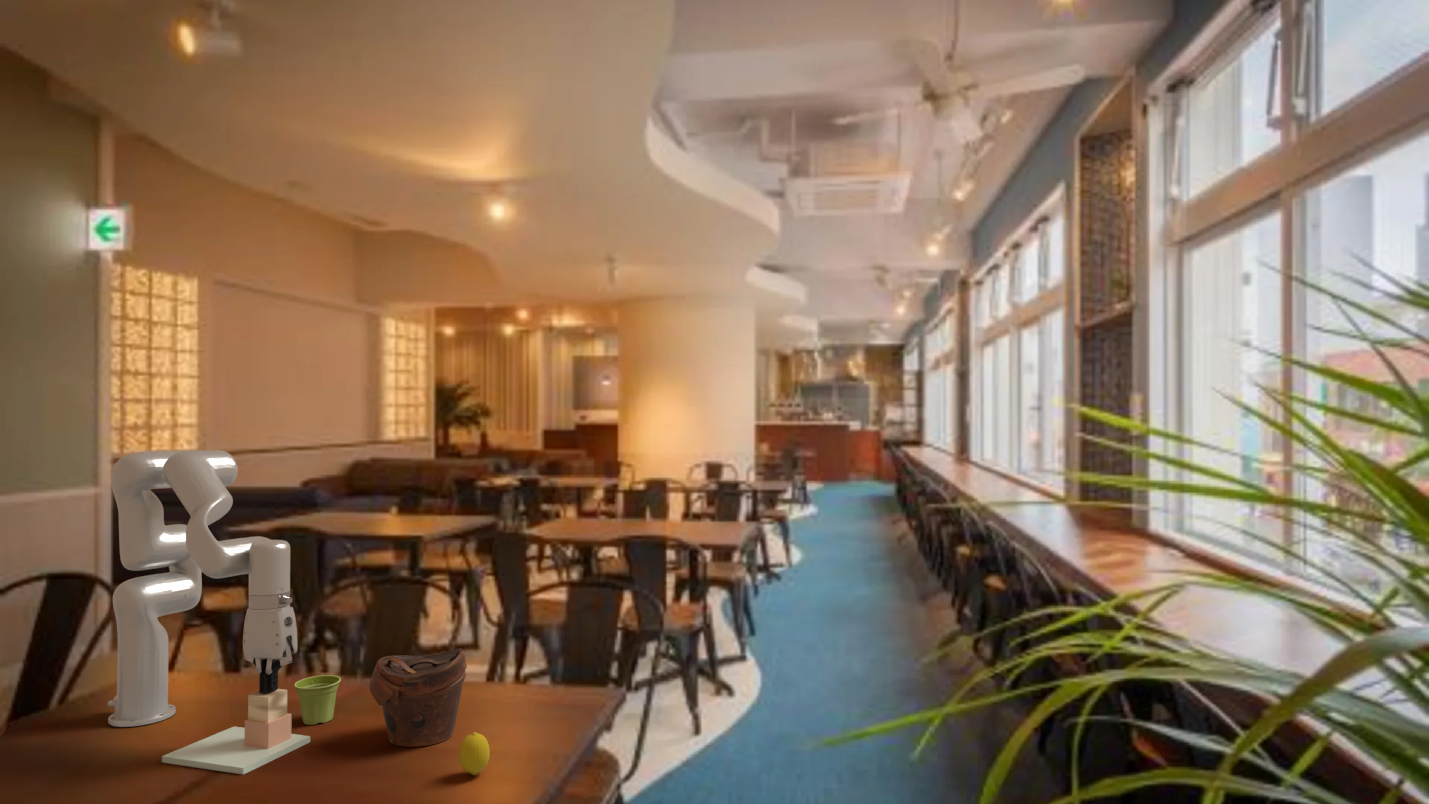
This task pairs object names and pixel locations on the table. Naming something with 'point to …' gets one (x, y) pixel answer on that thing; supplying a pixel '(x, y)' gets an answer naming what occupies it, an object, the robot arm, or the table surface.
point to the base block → (267, 732)
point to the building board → (231, 752)
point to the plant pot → (317, 698)
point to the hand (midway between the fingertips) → (268, 691)
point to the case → (419, 696)
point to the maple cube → (267, 705)
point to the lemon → (474, 753)
